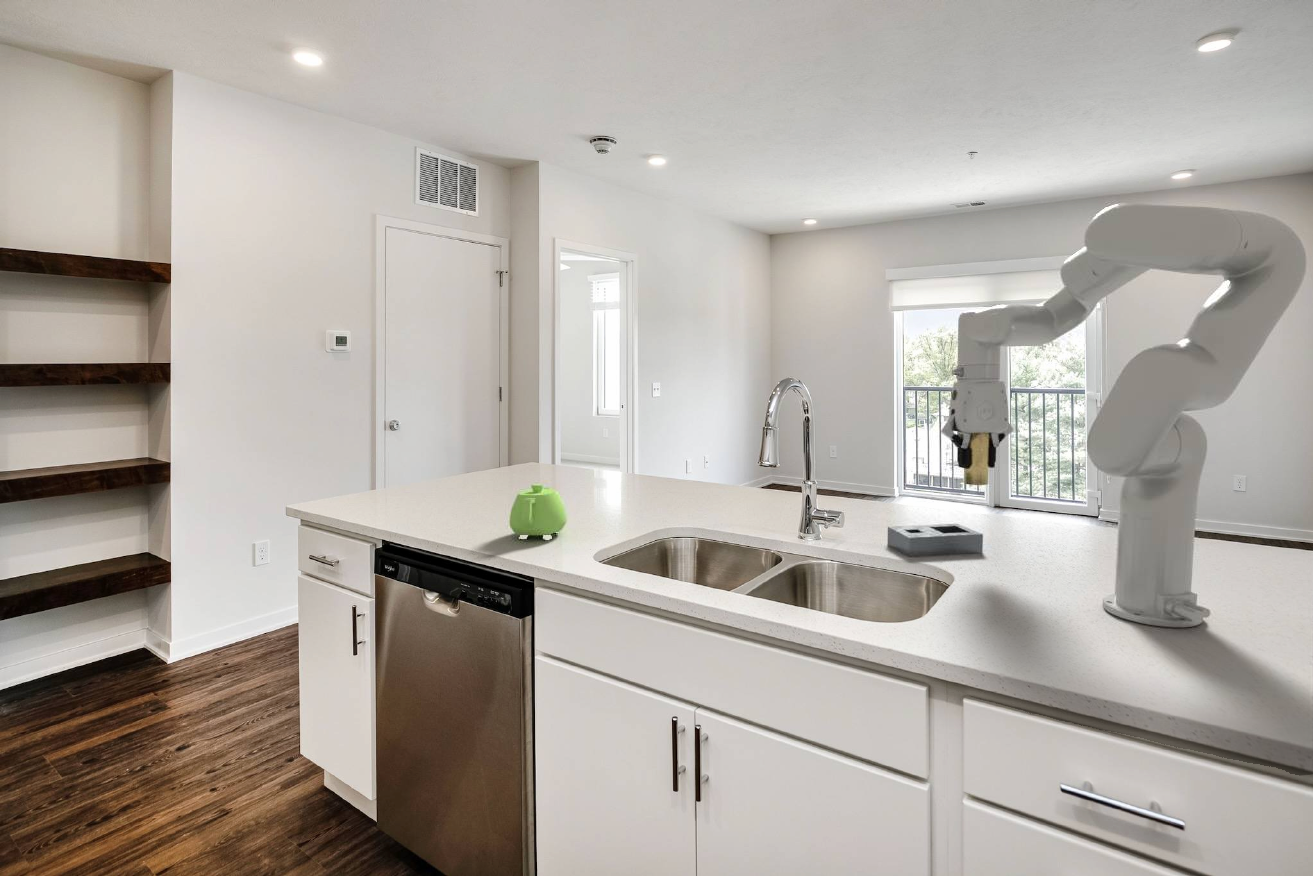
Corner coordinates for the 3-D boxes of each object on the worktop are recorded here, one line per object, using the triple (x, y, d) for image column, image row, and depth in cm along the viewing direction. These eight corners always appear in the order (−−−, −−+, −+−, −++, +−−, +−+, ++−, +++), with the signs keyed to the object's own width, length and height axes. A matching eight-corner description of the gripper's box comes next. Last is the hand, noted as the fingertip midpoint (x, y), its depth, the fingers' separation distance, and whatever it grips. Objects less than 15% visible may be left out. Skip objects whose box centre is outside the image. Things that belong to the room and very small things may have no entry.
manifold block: (982, 553, 142) (982, 534, 142) (909, 556, 140) (909, 537, 140) (956, 541, 152) (956, 523, 152) (887, 544, 150) (887, 526, 150)
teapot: (525, 526, 176) (523, 477, 175) (576, 526, 174) (574, 477, 173) (498, 546, 156) (495, 491, 155) (555, 546, 155) (553, 491, 153)
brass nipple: (993, 484, 133) (994, 423, 132) (971, 485, 133) (972, 423, 132) (980, 481, 137) (981, 421, 136) (959, 482, 137) (960, 422, 136)
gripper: (947, 375, 128) (945, 471, 130) (1031, 373, 130) (1028, 468, 132) (927, 375, 136) (926, 466, 138) (1007, 373, 138) (1004, 463, 139)
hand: (976, 466), depth 135 cm, fingers closed on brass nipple, 4 cm apart
